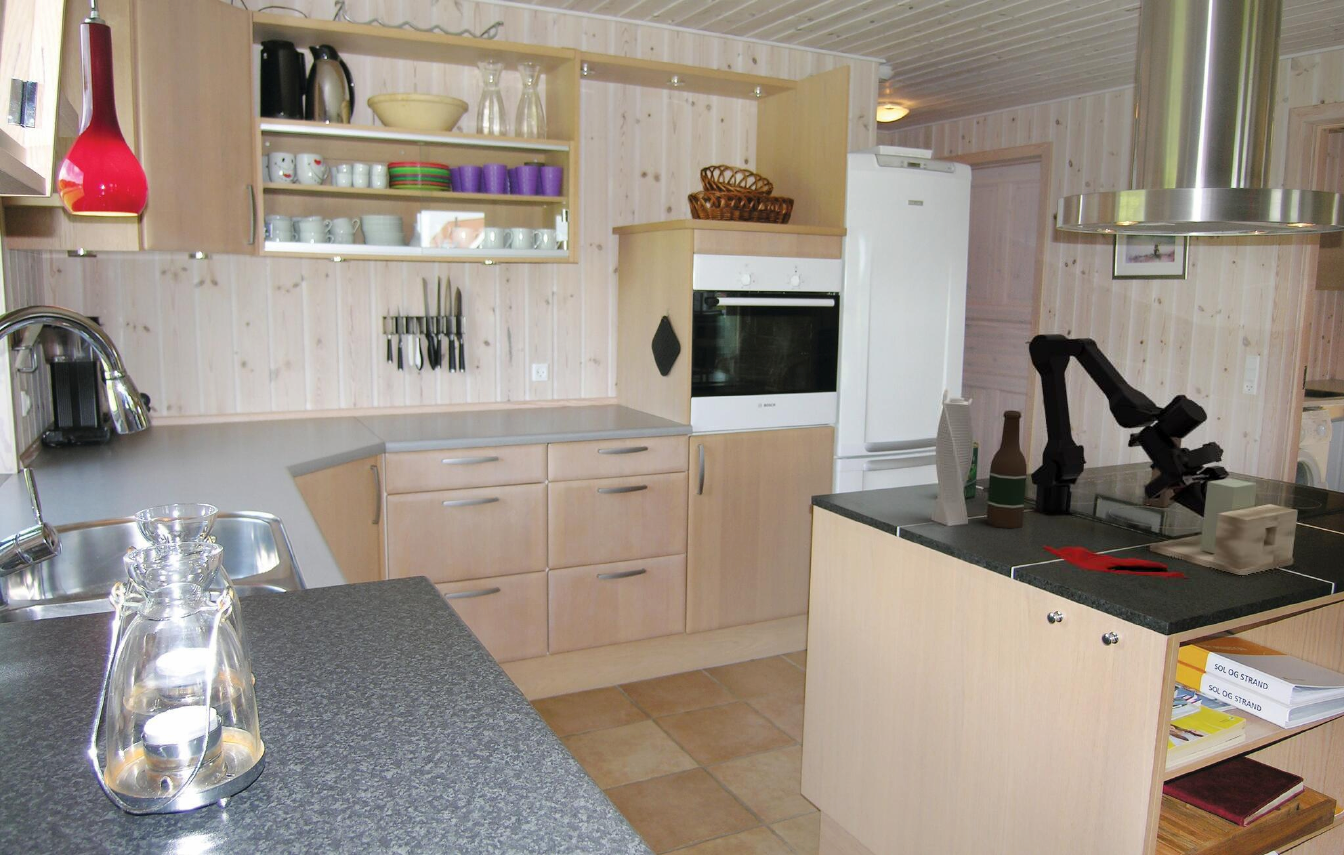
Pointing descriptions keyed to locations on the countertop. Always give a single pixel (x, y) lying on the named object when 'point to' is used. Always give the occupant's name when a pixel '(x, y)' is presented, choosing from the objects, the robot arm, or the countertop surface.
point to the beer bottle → (1007, 477)
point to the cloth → (1107, 562)
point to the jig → (1242, 541)
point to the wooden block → (1165, 494)
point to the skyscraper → (953, 460)
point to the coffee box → (972, 475)
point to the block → (1224, 505)
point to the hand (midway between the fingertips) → (1213, 519)
